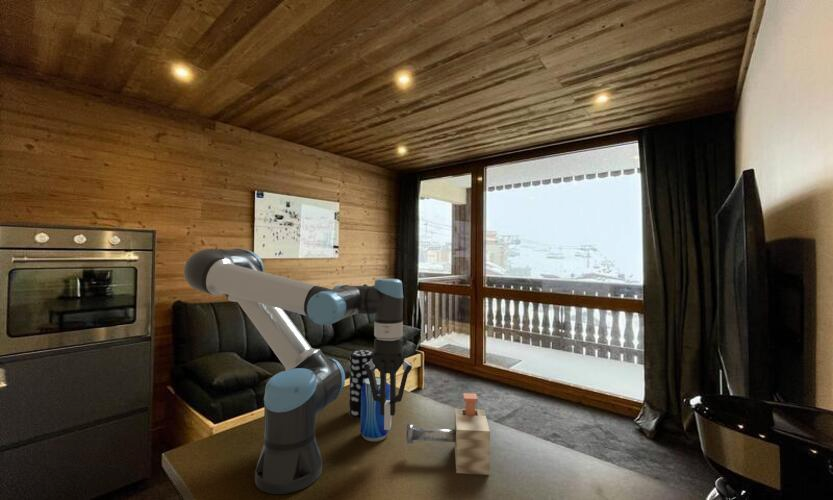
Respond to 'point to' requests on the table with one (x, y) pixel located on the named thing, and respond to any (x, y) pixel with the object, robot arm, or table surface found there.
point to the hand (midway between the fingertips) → (387, 427)
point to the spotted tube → (358, 379)
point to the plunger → (470, 403)
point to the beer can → (372, 413)
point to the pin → (430, 434)
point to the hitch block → (472, 443)
